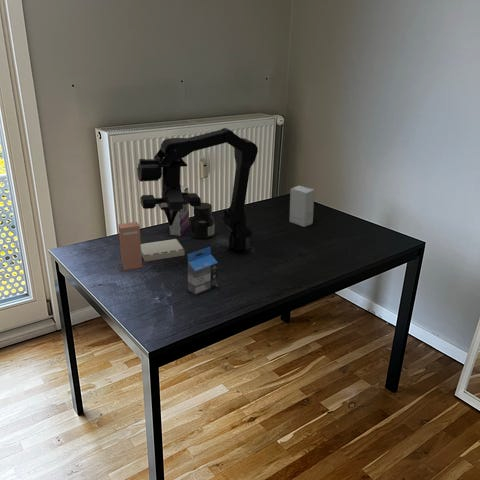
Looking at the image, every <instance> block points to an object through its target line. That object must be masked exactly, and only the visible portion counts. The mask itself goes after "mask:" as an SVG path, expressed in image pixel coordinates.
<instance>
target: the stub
mask: <svg viewBox="0 0 480 480" xmlns="http://www.w3.org/2000/svg"><path fill="white" fill-rule="evenodd" d="M117 226H118V235H119V236H118V237H119V249H120V259H121V260H120V261H121V268H122V270H123V271H130V270H135V269H141V268H143V261H142V260H143V257H142V255H141V244H142V242H141V231H140V230H141V228H140V227H141V226H140V224H139V223H138V221H133V222H124V223H119V224H118V225H117Z"/></svg>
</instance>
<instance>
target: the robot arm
mask: <svg viewBox="0 0 480 480" xmlns="http://www.w3.org/2000/svg"><path fill="white" fill-rule="evenodd" d="M222 144H228V145H230V146H231V147H233V149H234V150H233V155H234V161H235V165H236V166H235V173H234V181H233V188H232V195H231V202H230V206H229V207H228V209H227V208H225V209H224V210H223V217H222V220H223V222H224V225H225V226H226V227H227V228H228V229H229V231H230V234H229V236H228V246H229V247H228V248H227V251H230V252H233V253H237V254H241V255H244V254H246V253H247V252H248V251H249V250H250V249H251V248H252V246H251V245H250V238H251V237H252V235H253V231H252V230H251V229H250V228H249V227H248V226H247V216H246V210H245V205H246V197H247V192H248V186H249V185H248V184H249V177H250V171H251V169H252V166H253V165H254V163H255V162H256V158H257V156H258V152H259V149H258V148H259V147H258V146H257V144H256V143H254V142H253V141H251V140H250V139H247V138H244V137H240V136H238V135H237V134H236V133H235V132H234V131H233V130H231V129H229V128H226V127H223V128H221V129H218V130H214V131H210V132H206V133H203V134H199V135H195V136H191V137H172V138H169V137H168V138H166V139H164V140H162V142H161V144H160V148H159V150H158V151H157V152H156V154H155V155H154V157H153V158H152V159H151V158H150V159H149V158H148V159H147V158H146V159H145V158H139V160H138V163H137V165H138V166H137V168H136V171H137V173H136V174H137V179H138V181H139V182H140V183H141V182H156V181H157V182H158V181H159V180H161V197H155V196H154V195H153V194H143V195H141V196H140V205H141V207H142V209H144V210H149V209H151V210H152V209H155V208H156V206H157V205H158V206H159V209H160V210H161V211H164V214H165V217H166V220H167V222H168V223H167V224H168V225H169V226H172V224H173V222H174V219H175V217H176V215H177V213H178V211H179V210H180V209H183V208H184V207H183V205H187V204H189V206H191V207H193V206H201V203H202V199H201V197H200V196H199V195H198V194H197V193H196V192H189V193H182V192H181V186H182V185H181V167H183V168H184V167H188V164H187V163H186V162H185V161H184V158H185V157H187V156H189V155H190V154H192V153H194V152H196V151H200V150H205V149H207V148H212V147H214V146H218V145H222ZM193 208H194V207H193ZM170 210H171V211H170Z"/></svg>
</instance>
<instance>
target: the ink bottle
mask: <svg viewBox="0 0 480 480" xmlns="http://www.w3.org/2000/svg"><path fill="white" fill-rule="evenodd" d="M212 213H213V207H212V204H211V203H209V202H201V206H193V216H192V217H191V218H190V219H191V220H190V231H191V232H190V234H191V236H192V237H193V238H195V239H199V240H206V239H212V238H213V237H214V236H215V218H214V217H213V215H212Z"/></svg>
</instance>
